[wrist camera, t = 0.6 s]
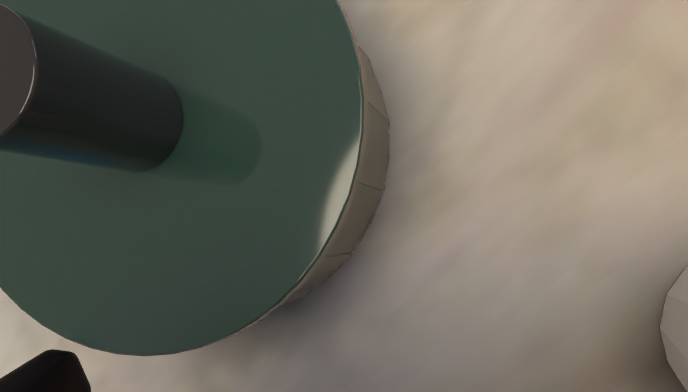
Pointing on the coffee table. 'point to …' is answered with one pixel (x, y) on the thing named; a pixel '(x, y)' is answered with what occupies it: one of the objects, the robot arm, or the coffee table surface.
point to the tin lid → (172, 162)
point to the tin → (359, 187)
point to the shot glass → (677, 327)
